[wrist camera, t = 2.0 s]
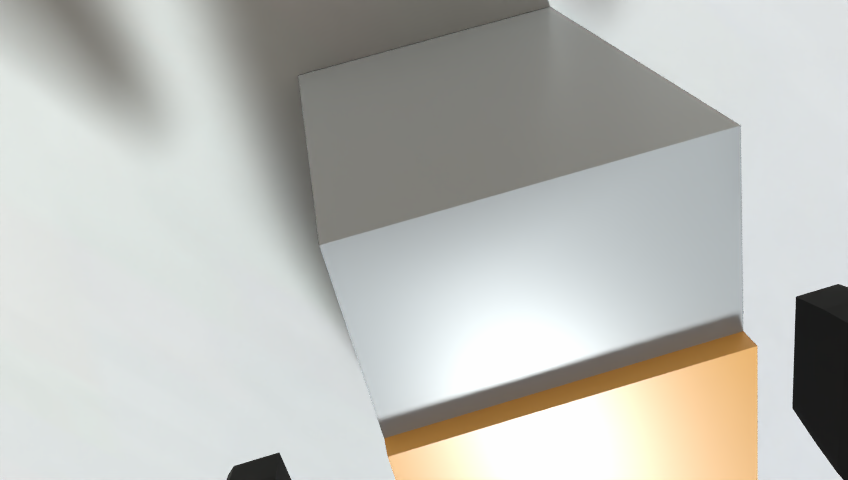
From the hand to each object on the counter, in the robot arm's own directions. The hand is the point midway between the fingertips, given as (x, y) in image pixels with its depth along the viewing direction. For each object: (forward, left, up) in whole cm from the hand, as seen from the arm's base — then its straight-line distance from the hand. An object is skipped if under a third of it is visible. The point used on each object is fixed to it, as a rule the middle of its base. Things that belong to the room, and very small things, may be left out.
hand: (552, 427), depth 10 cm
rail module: (0, 0, -5) cm, 5 cm away
